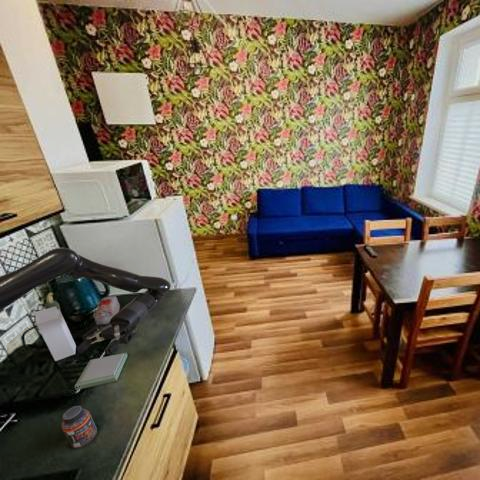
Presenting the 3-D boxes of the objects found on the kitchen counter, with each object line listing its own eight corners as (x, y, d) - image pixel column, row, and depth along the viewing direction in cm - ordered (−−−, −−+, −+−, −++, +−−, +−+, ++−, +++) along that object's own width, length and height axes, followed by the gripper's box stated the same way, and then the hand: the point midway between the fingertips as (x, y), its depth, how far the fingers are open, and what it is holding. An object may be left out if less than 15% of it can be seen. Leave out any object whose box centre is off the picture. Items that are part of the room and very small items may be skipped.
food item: (118, 323, 124) (111, 306, 120) (96, 329, 120) (89, 311, 116) (122, 307, 135) (116, 291, 131) (102, 312, 131) (96, 295, 127)
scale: (75, 391, 92) (72, 385, 90) (91, 364, 102) (88, 358, 101) (117, 382, 95) (114, 376, 94) (128, 357, 106) (126, 351, 104)
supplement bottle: (82, 452, 74) (68, 426, 70) (66, 446, 76) (51, 420, 71) (103, 430, 80) (91, 405, 75) (87, 425, 81) (74, 400, 77)
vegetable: (57, 336, 116) (39, 298, 108) (56, 332, 118) (38, 294, 111) (71, 331, 119) (53, 293, 111) (69, 327, 121) (52, 289, 114)
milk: (76, 355, 106) (55, 310, 98) (55, 363, 103) (32, 317, 94) (76, 346, 111) (56, 302, 102) (56, 353, 107) (34, 308, 99)
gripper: (107, 307, 93) (64, 341, 78) (146, 308, 93) (111, 342, 78) (113, 324, 96) (73, 360, 81) (152, 325, 96) (119, 361, 81)
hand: (92, 351), depth 79 cm, fingers open, 8 cm apart
